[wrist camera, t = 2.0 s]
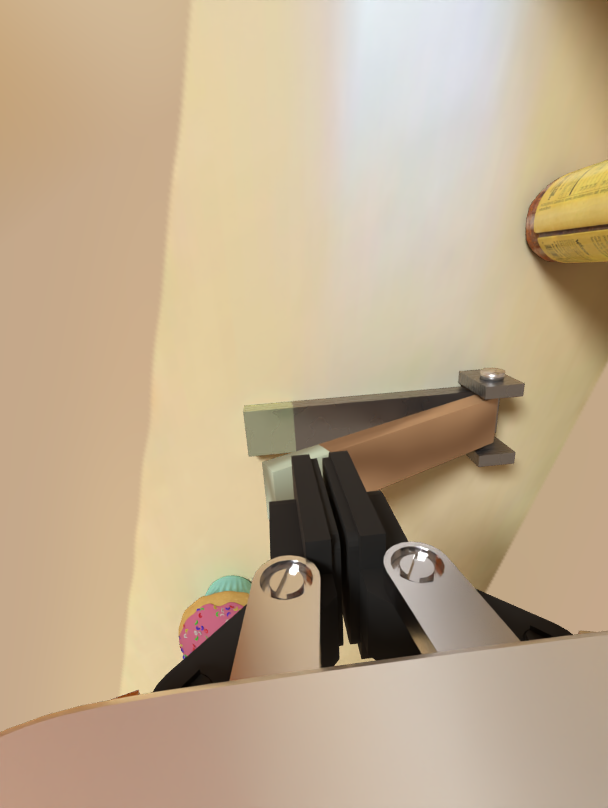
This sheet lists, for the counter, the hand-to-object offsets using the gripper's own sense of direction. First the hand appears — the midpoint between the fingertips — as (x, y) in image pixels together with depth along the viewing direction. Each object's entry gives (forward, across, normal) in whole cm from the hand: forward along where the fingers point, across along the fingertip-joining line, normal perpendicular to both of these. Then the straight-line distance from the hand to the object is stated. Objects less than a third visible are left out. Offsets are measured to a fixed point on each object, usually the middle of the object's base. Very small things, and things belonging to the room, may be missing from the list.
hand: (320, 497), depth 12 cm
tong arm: (+16, -7, +6) cm, 18 cm away
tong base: (+22, -8, +6) cm, 24 cm away
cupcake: (+22, +7, +24) cm, 34 cm away
